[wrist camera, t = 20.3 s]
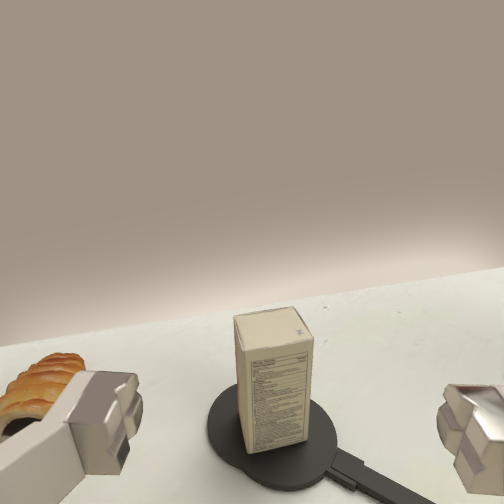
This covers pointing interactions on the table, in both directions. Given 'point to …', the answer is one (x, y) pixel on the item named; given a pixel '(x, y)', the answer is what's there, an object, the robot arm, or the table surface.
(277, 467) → the black frying pan
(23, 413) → the pastry
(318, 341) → the table surface
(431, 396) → the table surface
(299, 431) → the medicine box
